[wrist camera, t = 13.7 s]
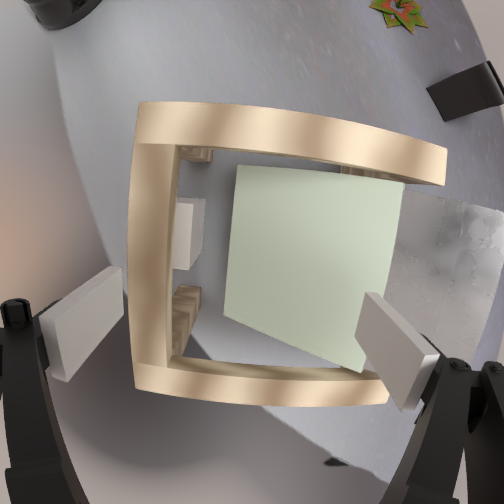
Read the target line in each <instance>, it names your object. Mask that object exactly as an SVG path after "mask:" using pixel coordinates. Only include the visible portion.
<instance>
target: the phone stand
mask: <svg viewBox="0 0 504 504" xmlns="http://www.w3.org/2000/svg"><path fill="white" fill-rule="evenodd" d="M427 90H428V91H429V93H430V95H431V97H432V98H433V100H434V102H435V104H436V106H437V108H438V109H439V111H440V113H441V115H442V117H443V119H444V121H445V122H446V121H449V120H452V119H455V118H458V117H461V116H464V115H467V114H470V113H474V112H477V111H480V110H483V109H486V108H490V107H494V106H499V105H502V104H504V87H503V85H502V83H501V81H500V79H499V77H498V75H497V73H496V71H495V69H494V67H493V66H492V64H491V62H490V61H487V62H484V63H482V64H479V65H477V66H474V67H472V68H469V69H467V70H464V71H462V72H460V73H457V74H455V75H453V76H451V77H449V78H446V79H444V80H442V81H440V82H438V83H436V84H434V85H432V86H430V87H428V88H427Z"/></svg>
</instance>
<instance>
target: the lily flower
mask: <svg viewBox="0 0 504 504" xmlns="http://www.w3.org/2000/svg"><path fill="white" fill-rule="evenodd" d="M391 1H392V0H374V2H373V3H372V5H370V6H369V7H371V8H375V9H378V10H382V11H383V13H384V17H385V20H386V23H387V27H388V28H389V27H392V26H397V25H400V24H401V23H403V24H404V25H405V26H406V27H407V29H408V30H410V31H411V33H412V34H413V31H414V29H413V28H414V27H415V24H416V25H420V26H424V27H425V26H426V27H427V28H428V26H427V25H426V23H425V22H424V19H423V18H422V17H421V16H420V15H419V14H418V12H420V10H421V8H422V7H421V6H420V5H419V4H417V3H416V2H415V1H414V0H394V1H395V3H396V2H397V3H396V7H397V6H398V8H404V10H403V12H402V14H400V13H399V12H397V11H395V10H394V9H392V8H391V7H390V3H391ZM401 5H402V7H401ZM389 13H391V14H394V13H395V15H396V16H397V18H394V19H392V20H391V16H390V14H389ZM409 13H410V14H412V15H413V16H414V18H415V19H414V18H413V17H412V15H410V14H409Z"/></svg>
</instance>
